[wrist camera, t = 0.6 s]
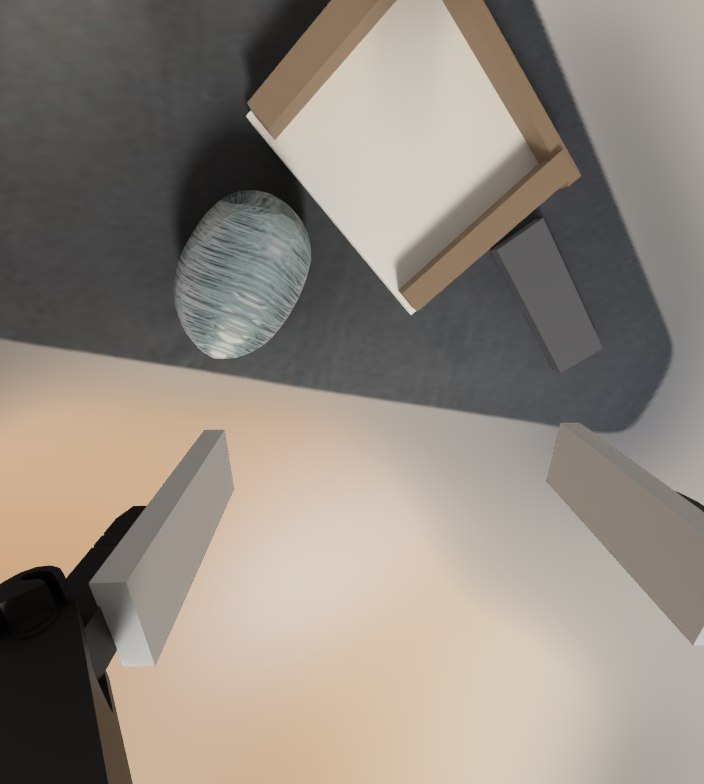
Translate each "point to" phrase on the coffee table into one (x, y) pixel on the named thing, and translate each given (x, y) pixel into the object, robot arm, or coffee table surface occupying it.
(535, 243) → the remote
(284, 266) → the grey streaked oval piece
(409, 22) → the shelf bay
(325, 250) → the coffee table surface
